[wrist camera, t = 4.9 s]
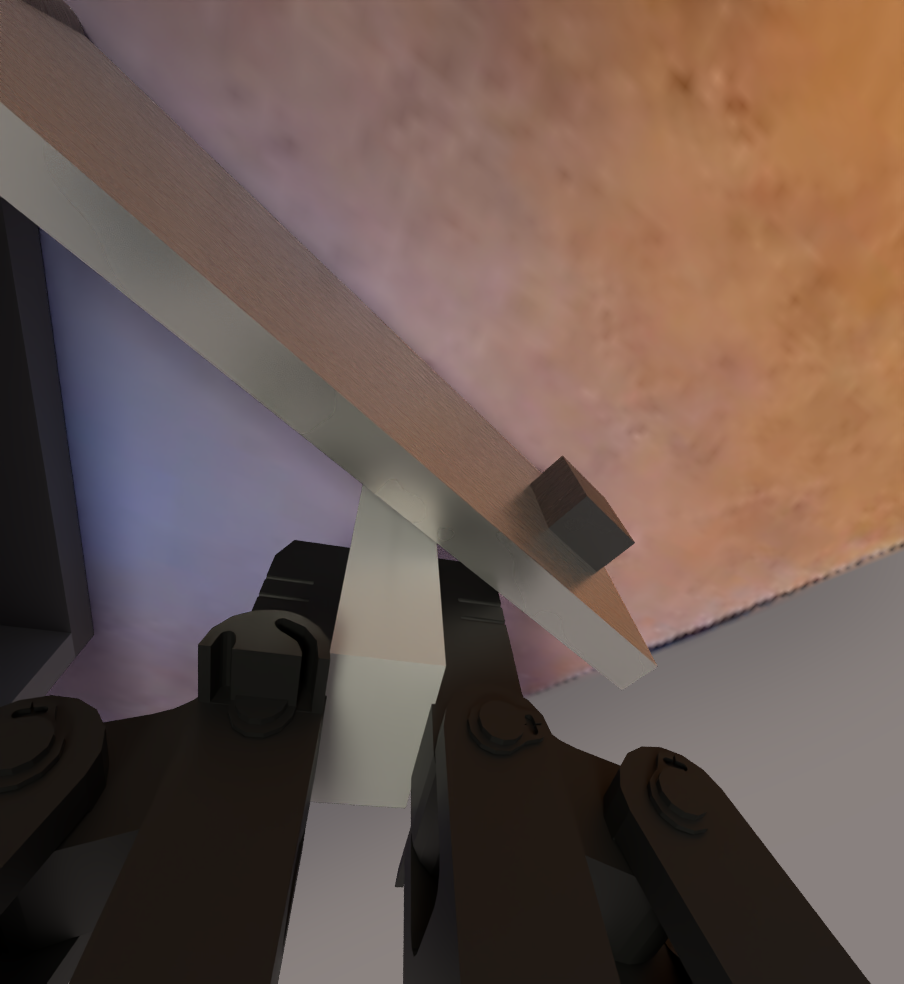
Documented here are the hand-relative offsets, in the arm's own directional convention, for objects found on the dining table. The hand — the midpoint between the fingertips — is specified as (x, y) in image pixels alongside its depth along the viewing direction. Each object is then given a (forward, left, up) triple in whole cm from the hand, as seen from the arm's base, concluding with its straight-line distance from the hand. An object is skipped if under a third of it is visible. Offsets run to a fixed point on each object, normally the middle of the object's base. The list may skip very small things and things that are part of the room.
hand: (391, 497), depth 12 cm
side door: (-4, -1, -2) cm, 5 cm away
